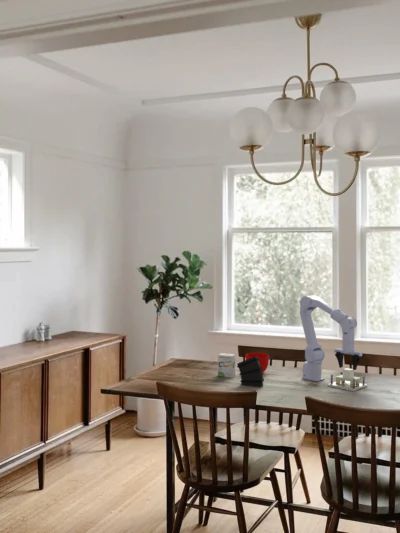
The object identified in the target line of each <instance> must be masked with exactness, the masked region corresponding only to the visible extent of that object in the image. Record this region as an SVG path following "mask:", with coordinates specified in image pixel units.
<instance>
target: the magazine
mask: <svg viewBox="0 0 400 533" xmlns="http://www.w3.org/2000/svg"><path fill="white" fill-rule="evenodd" d="M258 359H259V357H257V356H255V357H252V358H250V359H247V360H246V359H245V360H243V361H240V362H238V363H237V364H236V365H237V366H236V368H237V369H239V372H240V373H239V376H240V381H239V382H240V383H241V386H248V387H253V388H254V387H255V388H263V386H264V382H265V379H264V377H263V374H264V373H263V374H262V367H261V365H260V362H259V360H258Z"/></svg>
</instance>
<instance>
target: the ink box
mask: <svg viewBox="0 0 400 533" xmlns="http://www.w3.org/2000/svg"><path fill="white" fill-rule="evenodd" d="M217 357H218V358H217V376H218V377H224V378H230V379H231V378H232V379H233V378H234V377H235V376H236V354H234V353H225V352H221V353H219V354H218V355H217Z"/></svg>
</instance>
